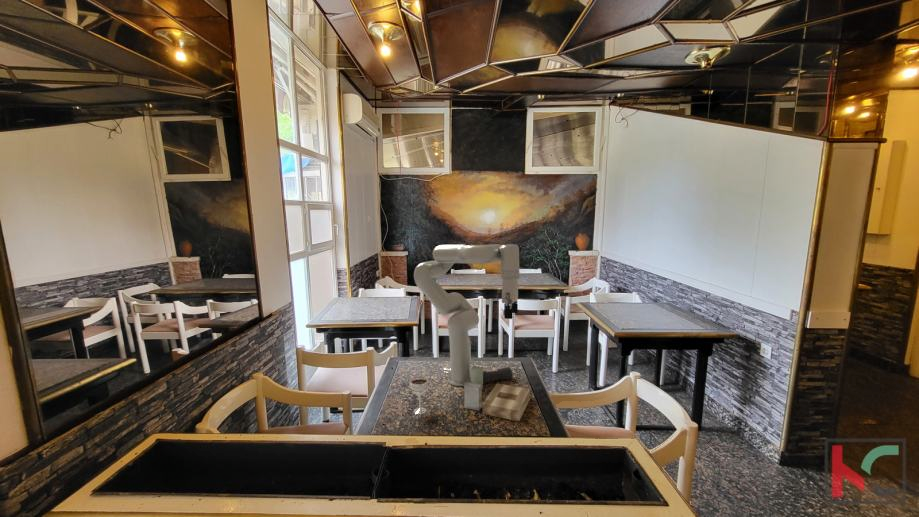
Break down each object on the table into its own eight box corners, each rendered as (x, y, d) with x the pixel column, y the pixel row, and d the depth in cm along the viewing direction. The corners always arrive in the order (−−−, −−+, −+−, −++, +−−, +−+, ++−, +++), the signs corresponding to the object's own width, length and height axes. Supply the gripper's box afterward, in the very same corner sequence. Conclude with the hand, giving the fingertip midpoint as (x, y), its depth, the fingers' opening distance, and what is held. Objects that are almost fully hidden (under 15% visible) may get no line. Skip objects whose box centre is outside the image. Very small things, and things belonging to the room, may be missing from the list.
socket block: (482, 413, 127) (482, 403, 126) (497, 392, 143) (497, 383, 143) (519, 421, 121) (519, 410, 121) (530, 398, 137) (530, 389, 137)
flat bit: (464, 407, 131) (464, 385, 131) (467, 404, 134) (467, 382, 133) (479, 410, 129) (478, 388, 128) (481, 407, 132) (481, 384, 131)
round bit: (469, 390, 146) (469, 370, 145) (474, 385, 150) (473, 365, 149) (480, 392, 143) (480, 372, 143) (484, 387, 148) (484, 367, 147)
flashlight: (482, 386, 150) (482, 374, 149) (477, 381, 155) (477, 369, 154) (513, 380, 154) (513, 369, 154) (508, 376, 159) (507, 365, 159)
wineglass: (421, 417, 125) (420, 386, 124) (407, 412, 129) (406, 382, 128) (432, 409, 131) (431, 379, 130) (418, 404, 134) (417, 375, 133)
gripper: (506, 272, 148) (507, 310, 149) (495, 277, 132) (496, 320, 133) (523, 272, 145) (524, 311, 146) (514, 277, 129) (515, 321, 130)
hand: (511, 315), depth 139 cm, fingers open, 9 cm apart
